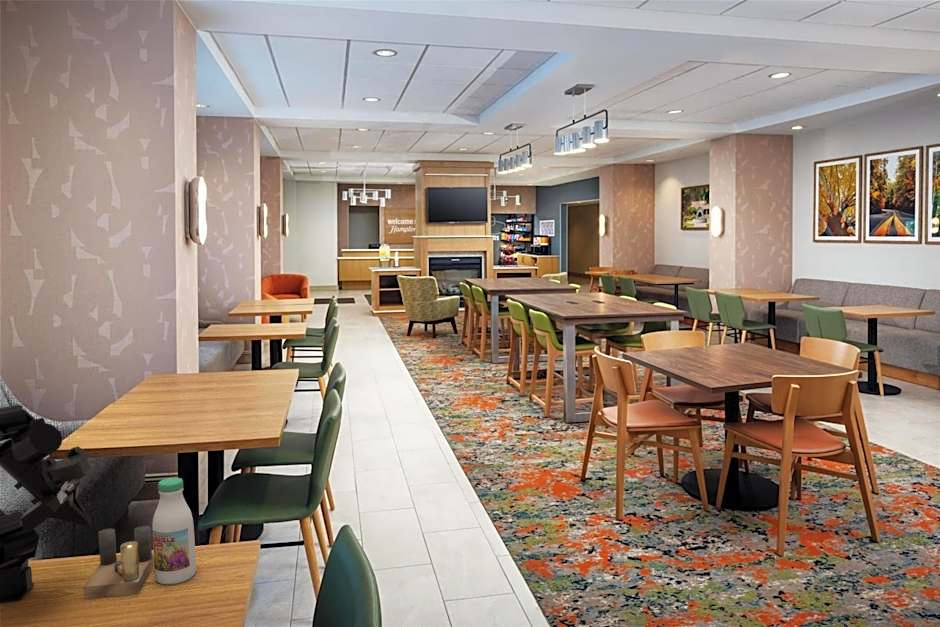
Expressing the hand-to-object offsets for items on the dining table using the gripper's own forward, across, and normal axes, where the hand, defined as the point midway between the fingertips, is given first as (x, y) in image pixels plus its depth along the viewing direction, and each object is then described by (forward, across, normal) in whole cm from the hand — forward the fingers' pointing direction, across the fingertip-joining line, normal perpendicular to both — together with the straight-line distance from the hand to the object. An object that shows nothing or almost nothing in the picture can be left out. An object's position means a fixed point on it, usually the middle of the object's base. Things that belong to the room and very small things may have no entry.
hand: (87, 523), depth 137 cm
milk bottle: (+20, 0, -4) cm, 20 cm away
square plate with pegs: (+14, -1, +4) cm, 14 cm away
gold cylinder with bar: (+12, -3, 0) cm, 13 cm away
